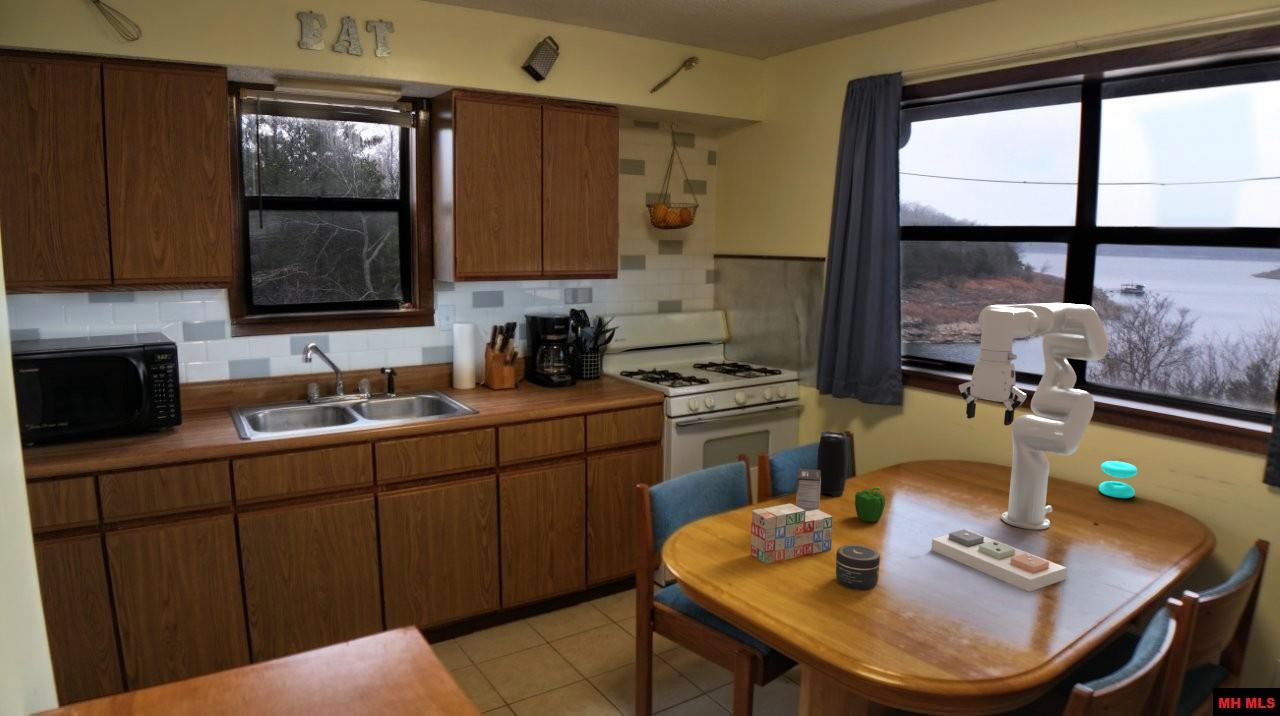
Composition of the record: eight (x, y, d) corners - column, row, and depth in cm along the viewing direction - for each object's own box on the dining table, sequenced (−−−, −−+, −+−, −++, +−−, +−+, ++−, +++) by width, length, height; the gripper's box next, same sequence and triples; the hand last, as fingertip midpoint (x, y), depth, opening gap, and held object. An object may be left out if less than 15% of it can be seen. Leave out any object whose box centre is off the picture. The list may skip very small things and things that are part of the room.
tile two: (993, 550, 203) (994, 539, 203) (1014, 559, 198) (1015, 548, 198) (977, 555, 200) (978, 544, 200) (998, 563, 195) (999, 552, 195)
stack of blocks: (816, 542, 213) (818, 498, 211) (831, 550, 207) (834, 505, 205) (750, 555, 203) (751, 509, 201) (764, 564, 198) (766, 517, 196)
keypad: (966, 540, 215) (967, 529, 215) (1065, 579, 191) (1066, 567, 191) (931, 549, 208) (932, 538, 208) (1029, 591, 184) (1030, 579, 184)
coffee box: (795, 522, 227) (797, 468, 224) (817, 524, 226) (820, 469, 223) (794, 533, 218) (797, 477, 216) (818, 535, 217) (821, 479, 214)
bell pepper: (851, 522, 227) (853, 488, 226) (855, 513, 235) (857, 480, 233) (882, 526, 224) (884, 492, 223) (885, 517, 232) (887, 484, 230)
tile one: (963, 539, 211) (964, 528, 211) (983, 546, 206) (984, 536, 206) (948, 543, 208) (949, 532, 208) (967, 551, 203) (968, 540, 203)
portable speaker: (812, 489, 256) (814, 430, 253) (839, 488, 258) (842, 430, 255) (821, 498, 248) (824, 437, 245) (850, 497, 249) (853, 436, 246)
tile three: (1025, 563, 196) (1026, 552, 195) (1048, 572, 191) (1049, 561, 190) (1009, 568, 193) (1010, 556, 192) (1032, 577, 188) (1033, 565, 187)
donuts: (1144, 466, 252) (1124, 470, 248) (1141, 497, 253) (1121, 501, 249) (1114, 458, 261) (1094, 462, 257) (1111, 488, 262) (1091, 491, 258)
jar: (871, 595, 181) (873, 564, 180) (828, 585, 186) (830, 554, 185) (883, 580, 190) (885, 549, 188) (842, 570, 195) (844, 540, 194)
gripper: (1035, 359, 201) (1028, 425, 204) (968, 351, 214) (963, 413, 216) (1023, 362, 196) (1016, 429, 199) (956, 353, 209) (950, 417, 211)
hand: (988, 421), depth 208 cm, fingers open, 9 cm apart
